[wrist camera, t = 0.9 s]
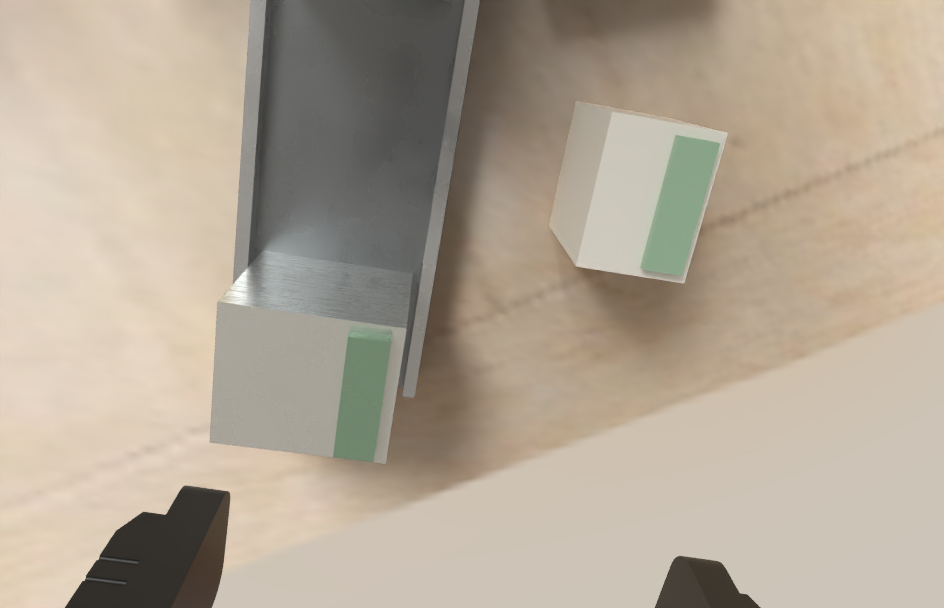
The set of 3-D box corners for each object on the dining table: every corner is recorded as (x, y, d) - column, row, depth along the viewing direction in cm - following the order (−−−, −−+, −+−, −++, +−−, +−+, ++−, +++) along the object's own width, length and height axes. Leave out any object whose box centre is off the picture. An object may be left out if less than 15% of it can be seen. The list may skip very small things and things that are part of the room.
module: (575, 100, 32) (614, 112, 25) (668, 117, 32) (732, 133, 25) (548, 225, 34) (577, 269, 27) (636, 240, 34) (687, 286, 27)
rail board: (279, -196, 27) (207, -313, 19) (501, -147, 28) (530, -237, 20) (241, 352, 35) (178, 447, 26) (415, 375, 36) (409, 475, 27)
